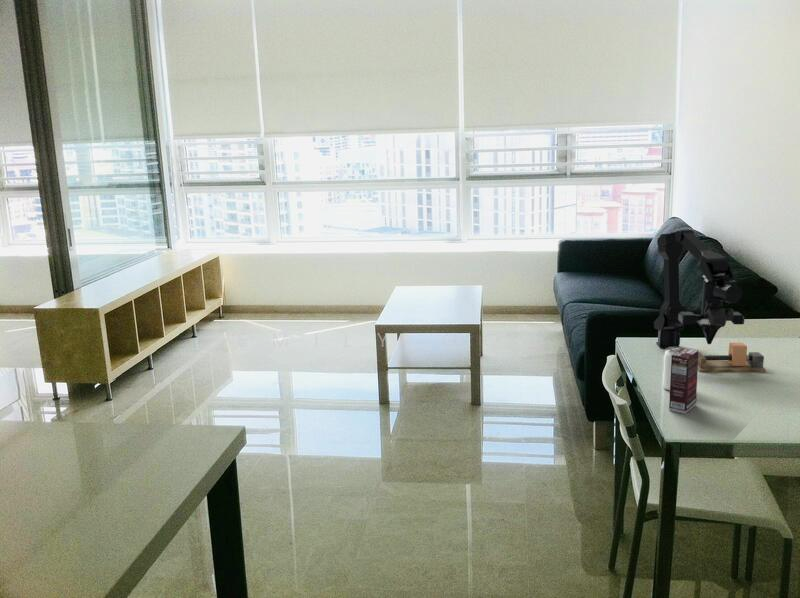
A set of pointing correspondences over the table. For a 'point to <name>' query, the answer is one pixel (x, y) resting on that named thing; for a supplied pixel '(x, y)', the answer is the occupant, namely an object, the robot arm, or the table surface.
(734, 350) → the sleeve
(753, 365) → the comb rail
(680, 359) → the supplement box
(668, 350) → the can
